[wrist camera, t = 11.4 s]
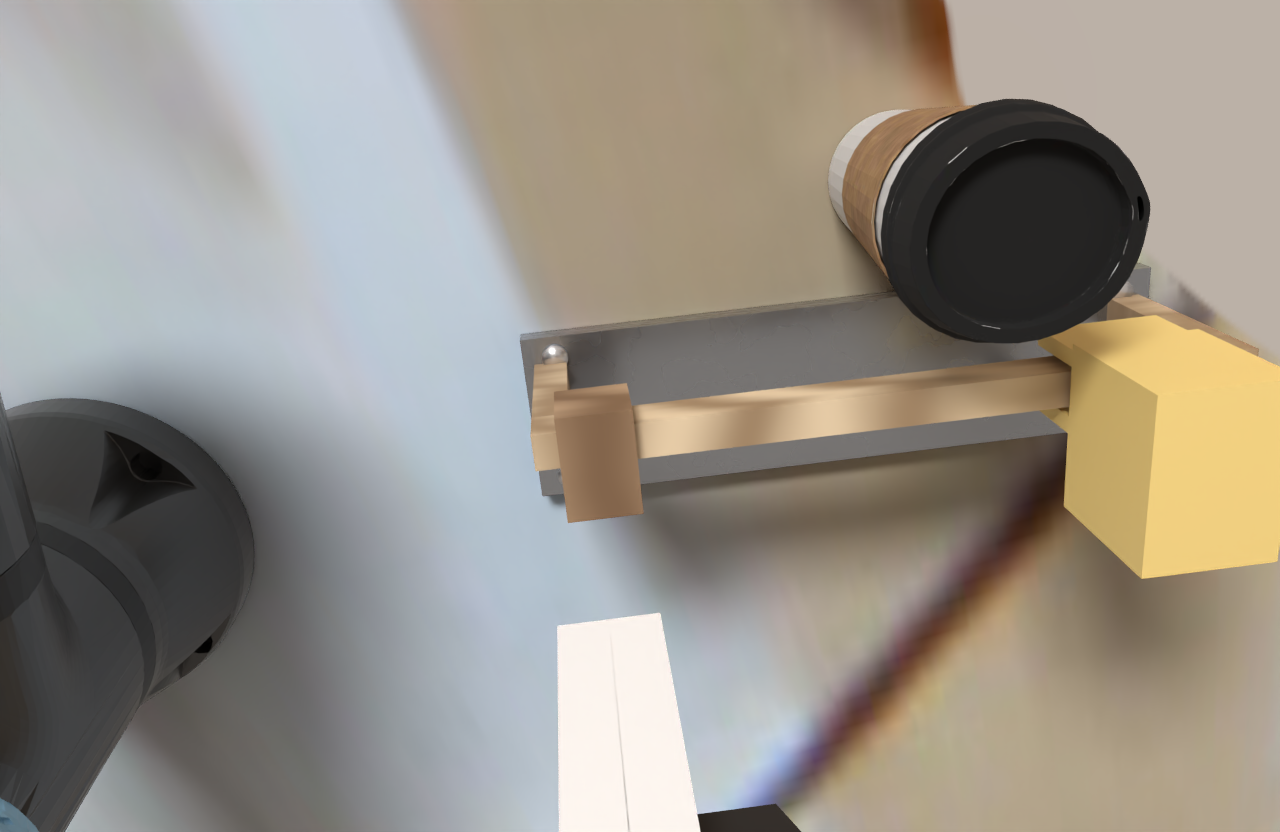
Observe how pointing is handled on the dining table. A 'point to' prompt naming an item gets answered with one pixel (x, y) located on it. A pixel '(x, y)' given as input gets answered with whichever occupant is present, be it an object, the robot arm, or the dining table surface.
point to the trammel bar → (777, 414)
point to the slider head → (1170, 445)
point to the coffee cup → (992, 215)
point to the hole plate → (784, 372)
